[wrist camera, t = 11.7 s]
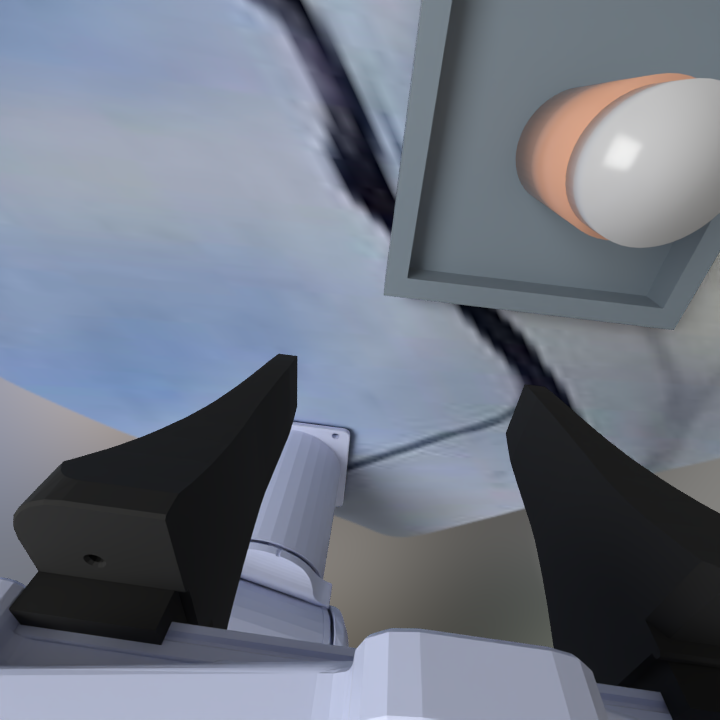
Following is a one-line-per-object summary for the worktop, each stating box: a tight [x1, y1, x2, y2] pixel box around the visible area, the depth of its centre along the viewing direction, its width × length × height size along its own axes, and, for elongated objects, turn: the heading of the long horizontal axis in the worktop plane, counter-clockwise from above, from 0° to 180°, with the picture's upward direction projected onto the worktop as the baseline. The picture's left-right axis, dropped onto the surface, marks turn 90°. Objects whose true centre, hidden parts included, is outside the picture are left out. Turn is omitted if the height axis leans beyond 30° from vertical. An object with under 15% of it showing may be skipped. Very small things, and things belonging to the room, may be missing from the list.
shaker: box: [516, 73, 720, 248], centre depth 14 cm, size 4×4×8 cm
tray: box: [384, 0, 720, 330], centre depth 16 cm, size 14×14×2 cm
